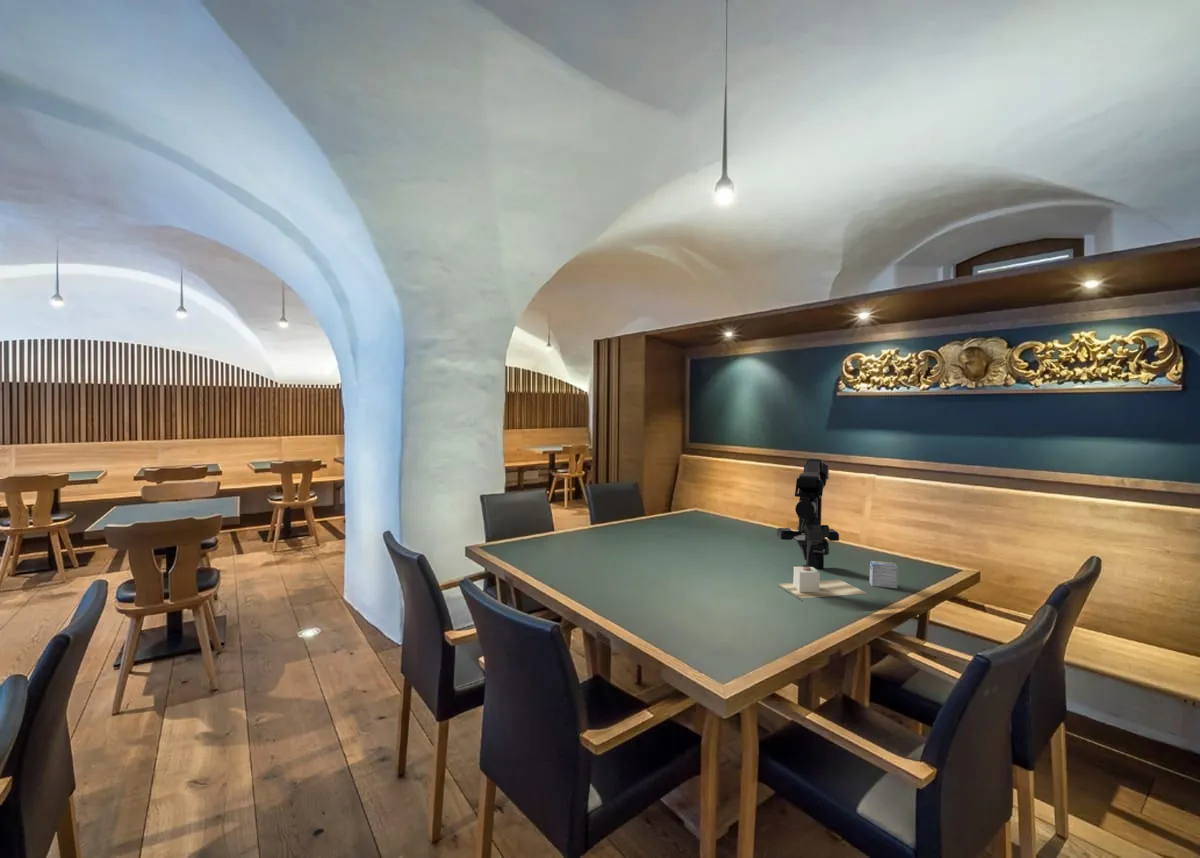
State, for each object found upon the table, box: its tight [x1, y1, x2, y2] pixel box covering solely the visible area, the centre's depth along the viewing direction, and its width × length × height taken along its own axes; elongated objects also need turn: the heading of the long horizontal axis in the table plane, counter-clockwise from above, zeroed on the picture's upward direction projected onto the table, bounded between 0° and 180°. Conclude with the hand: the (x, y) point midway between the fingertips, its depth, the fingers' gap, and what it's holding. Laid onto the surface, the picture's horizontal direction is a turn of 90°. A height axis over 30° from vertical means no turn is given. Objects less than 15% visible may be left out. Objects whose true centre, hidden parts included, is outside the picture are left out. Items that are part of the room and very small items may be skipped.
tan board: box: [777, 579, 867, 602], centre depth 182 cm, size 14×24×4 cm, turn 103°
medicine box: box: [868, 560, 899, 589], centre depth 186 cm, size 8×4×9 cm, turn 74°
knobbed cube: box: [792, 566, 821, 593], centre depth 181 cm, size 6×6×7 cm
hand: (806, 559), depth 180 cm, fingers closed
